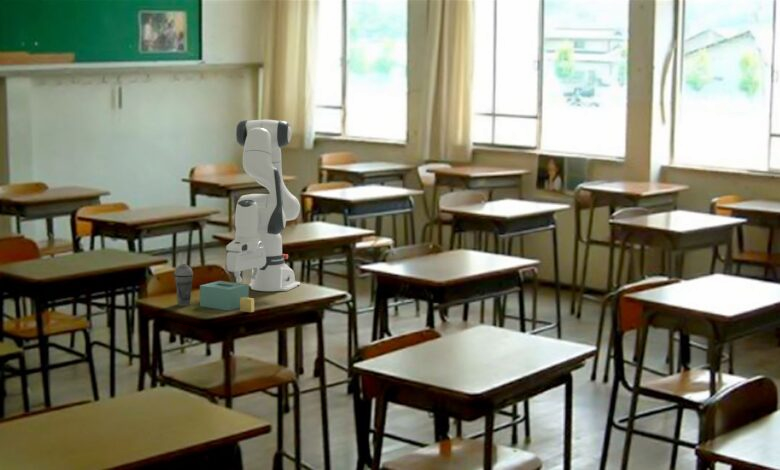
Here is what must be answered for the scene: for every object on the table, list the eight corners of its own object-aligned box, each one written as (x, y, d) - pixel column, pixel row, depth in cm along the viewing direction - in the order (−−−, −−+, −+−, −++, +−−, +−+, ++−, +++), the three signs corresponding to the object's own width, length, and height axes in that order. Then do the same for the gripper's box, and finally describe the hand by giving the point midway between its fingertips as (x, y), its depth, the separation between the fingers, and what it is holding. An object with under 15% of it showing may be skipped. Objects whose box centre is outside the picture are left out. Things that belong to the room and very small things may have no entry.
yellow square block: (243, 310, 454) (243, 296, 453) (254, 311, 451) (254, 298, 451) (240, 310, 452) (240, 297, 451) (251, 312, 450) (251, 299, 449)
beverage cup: (191, 306, 458) (191, 254, 455) (172, 306, 458) (171, 254, 455) (195, 302, 465) (194, 251, 462) (176, 302, 465) (175, 251, 462)
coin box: (219, 300, 469) (219, 280, 468) (248, 305, 462) (248, 284, 461) (200, 306, 459) (199, 285, 458) (229, 310, 452) (229, 289, 451)
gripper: (256, 240, 458) (256, 276, 460) (223, 246, 441) (223, 283, 442) (270, 241, 455) (270, 278, 457) (237, 247, 438) (237, 285, 439)
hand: (246, 280), depth 449 cm, fingers open, 8 cm apart
